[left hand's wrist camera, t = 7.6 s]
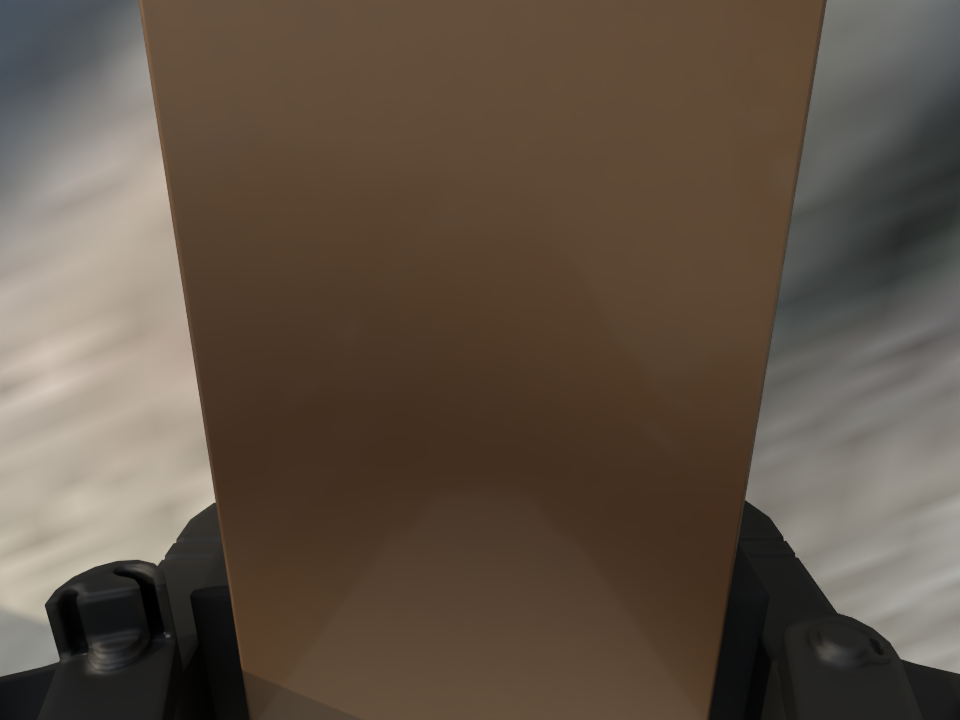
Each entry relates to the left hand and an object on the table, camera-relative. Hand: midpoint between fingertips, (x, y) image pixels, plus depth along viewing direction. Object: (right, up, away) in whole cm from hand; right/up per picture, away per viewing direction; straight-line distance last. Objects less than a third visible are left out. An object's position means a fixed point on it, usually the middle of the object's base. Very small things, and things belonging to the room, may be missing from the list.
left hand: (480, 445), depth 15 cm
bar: (0, +26, -9) cm, 28 cm away
